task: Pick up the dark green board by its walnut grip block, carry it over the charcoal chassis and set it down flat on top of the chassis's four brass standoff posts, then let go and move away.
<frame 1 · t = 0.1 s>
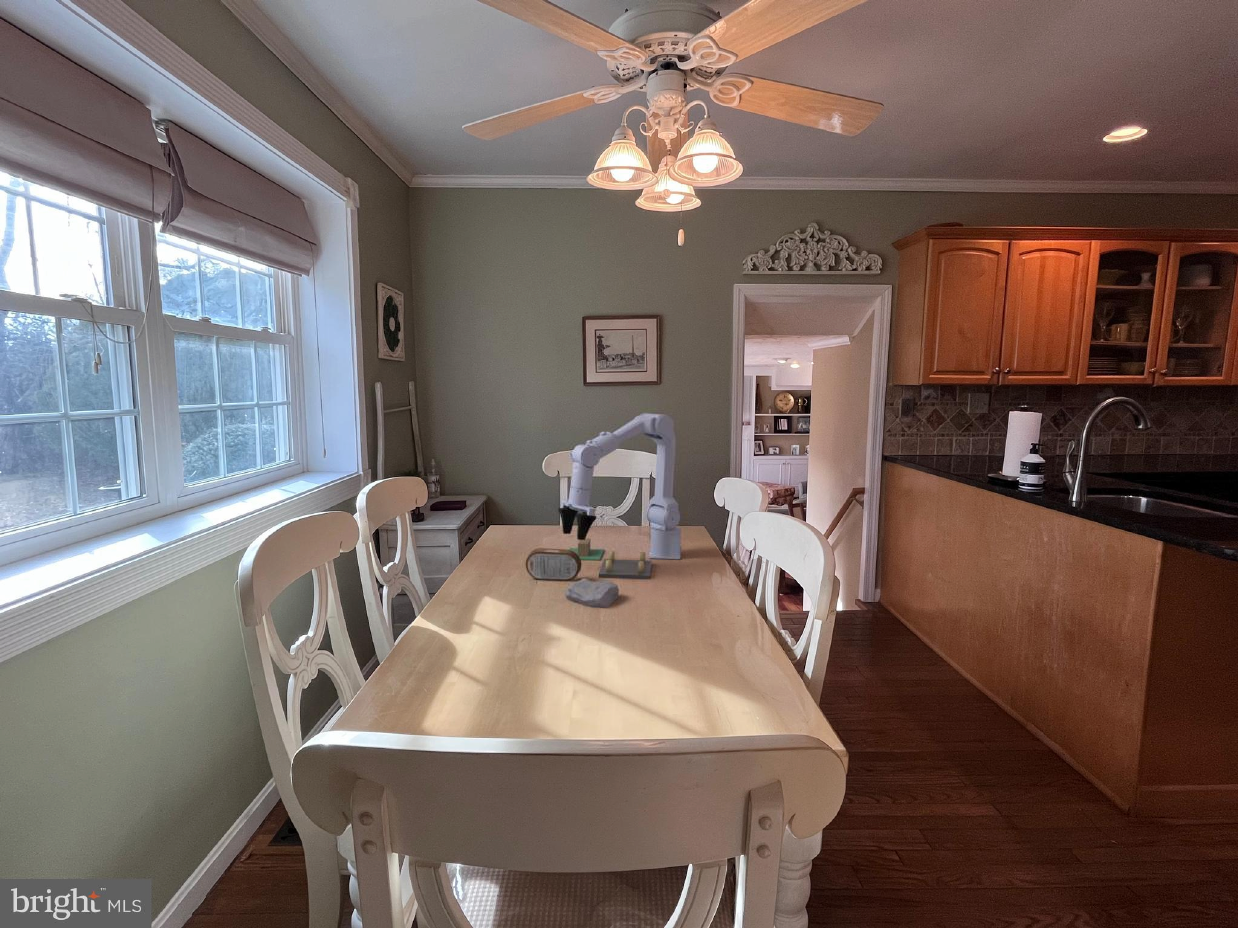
hand: (573, 536, 169), 11 cm above the table, tool pointing down, fingers open, 7 cm apart
tin: (553, 580, 166), on the table
stone block: (590, 601, 151), on the table
board: (584, 556, 189), on the table
chassis: (626, 570, 174), on the table
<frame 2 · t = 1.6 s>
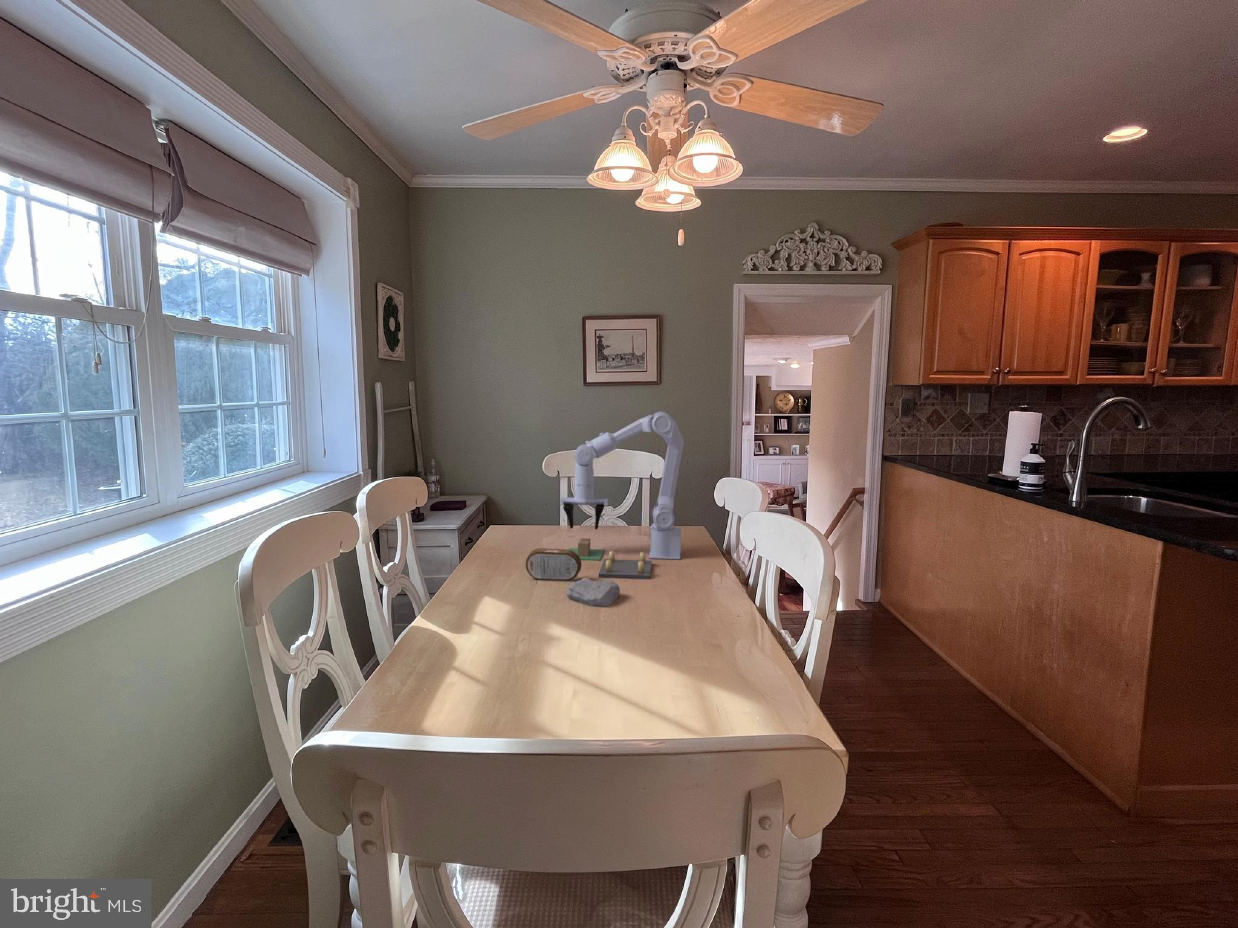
hand: (584, 528, 188), 8 cm above the table, tool pointing down, fingers open, 7 cm apart
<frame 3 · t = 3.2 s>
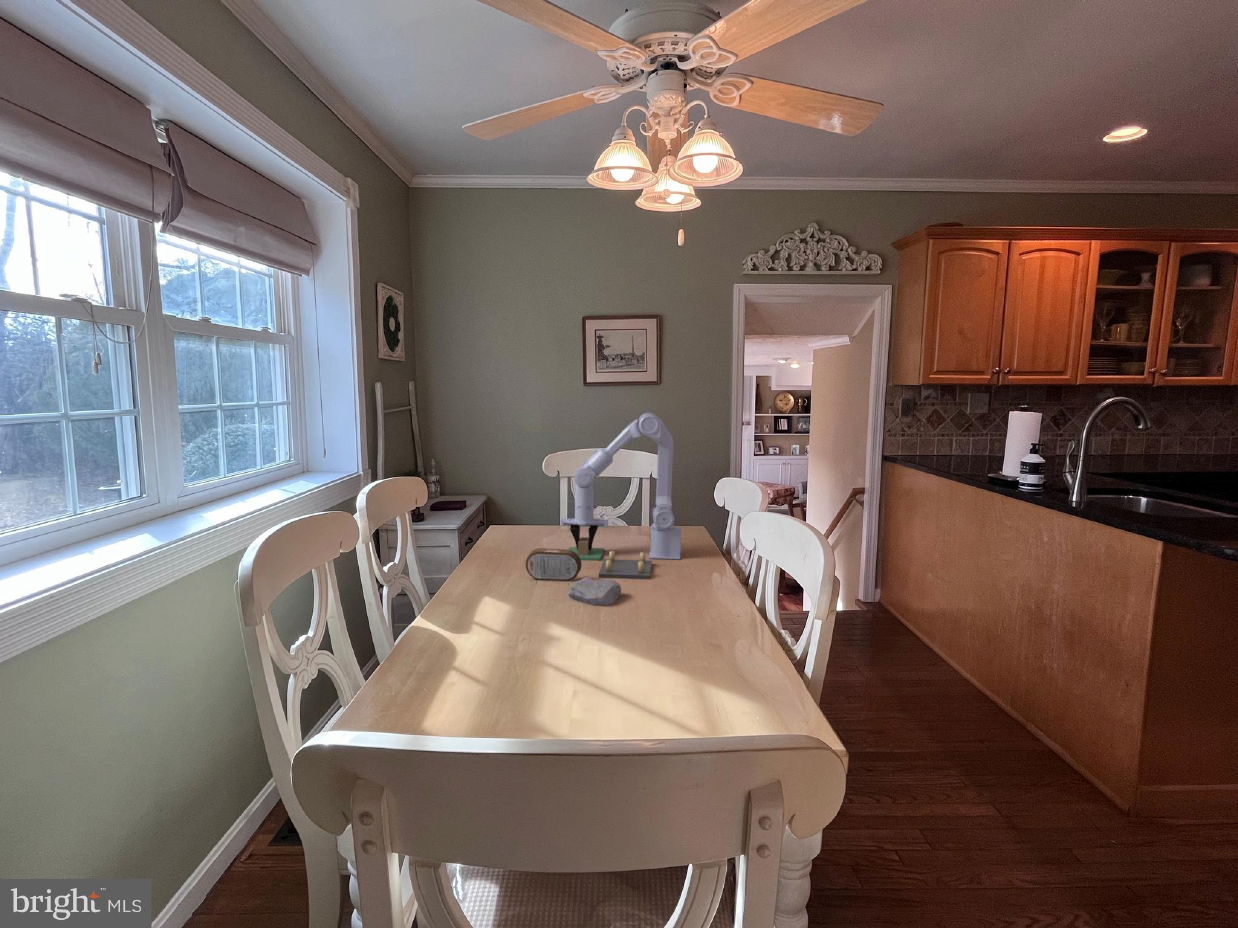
hand: (584, 549, 189), 2 cm above the table, tool pointing down, fingers closed on board, 3 cm apart
board: (584, 555, 189), on the table, touching gripper
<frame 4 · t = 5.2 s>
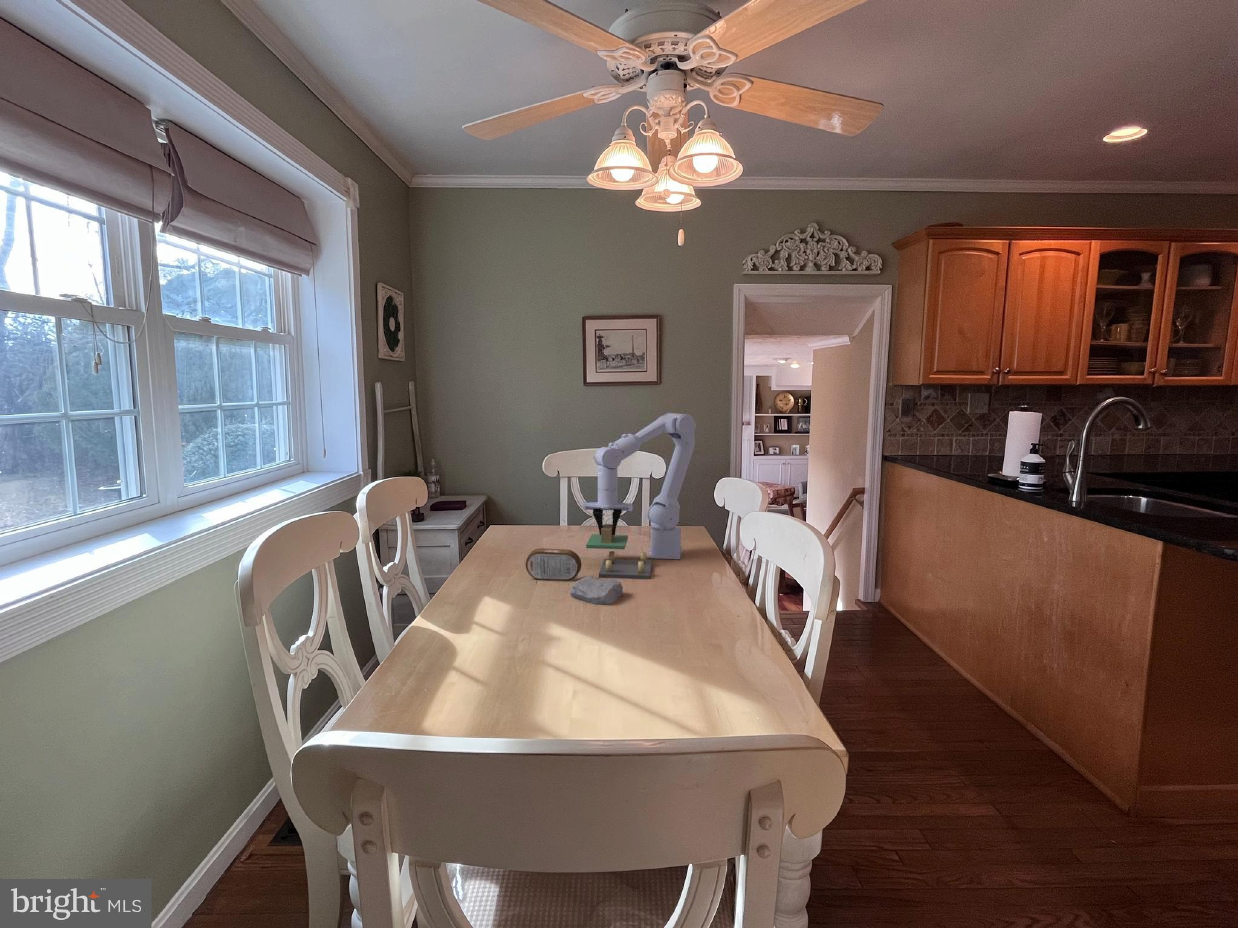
hand: (607, 534, 179), 9 cm above the table, tool pointing down, fingers closed on board, 3 cm apart
board: (607, 543, 180), point 6 cm above the table, touching gripper
when the fingers open (7 cm above the table, at t = 6.9 s): board stays where it is, resting on chassis.
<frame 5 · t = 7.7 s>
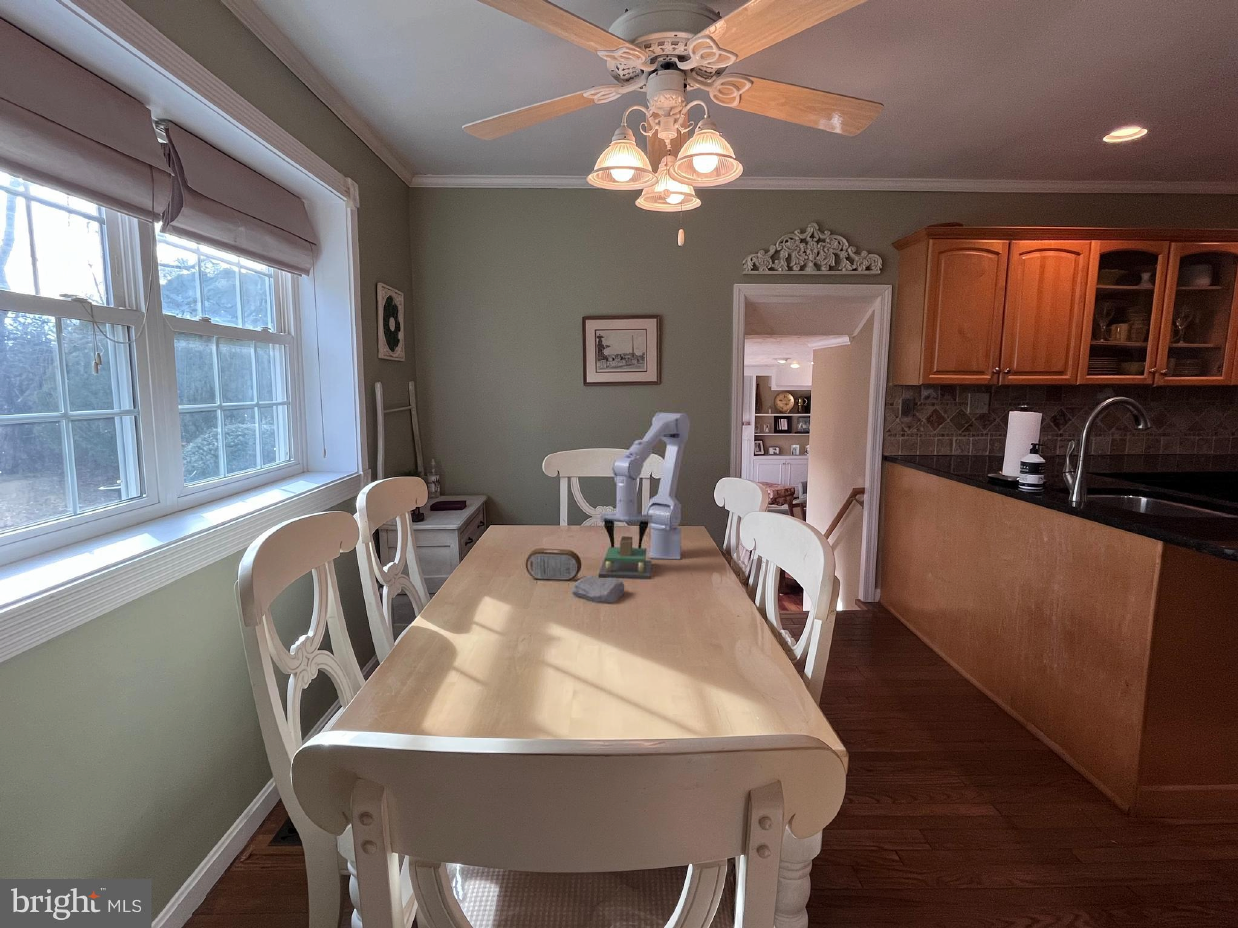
hand: (626, 547, 173), 7 cm above the table, tool pointing down, fingers open, 7 cm apart
board: (626, 556, 174), point 4 cm above the table, touching chassis
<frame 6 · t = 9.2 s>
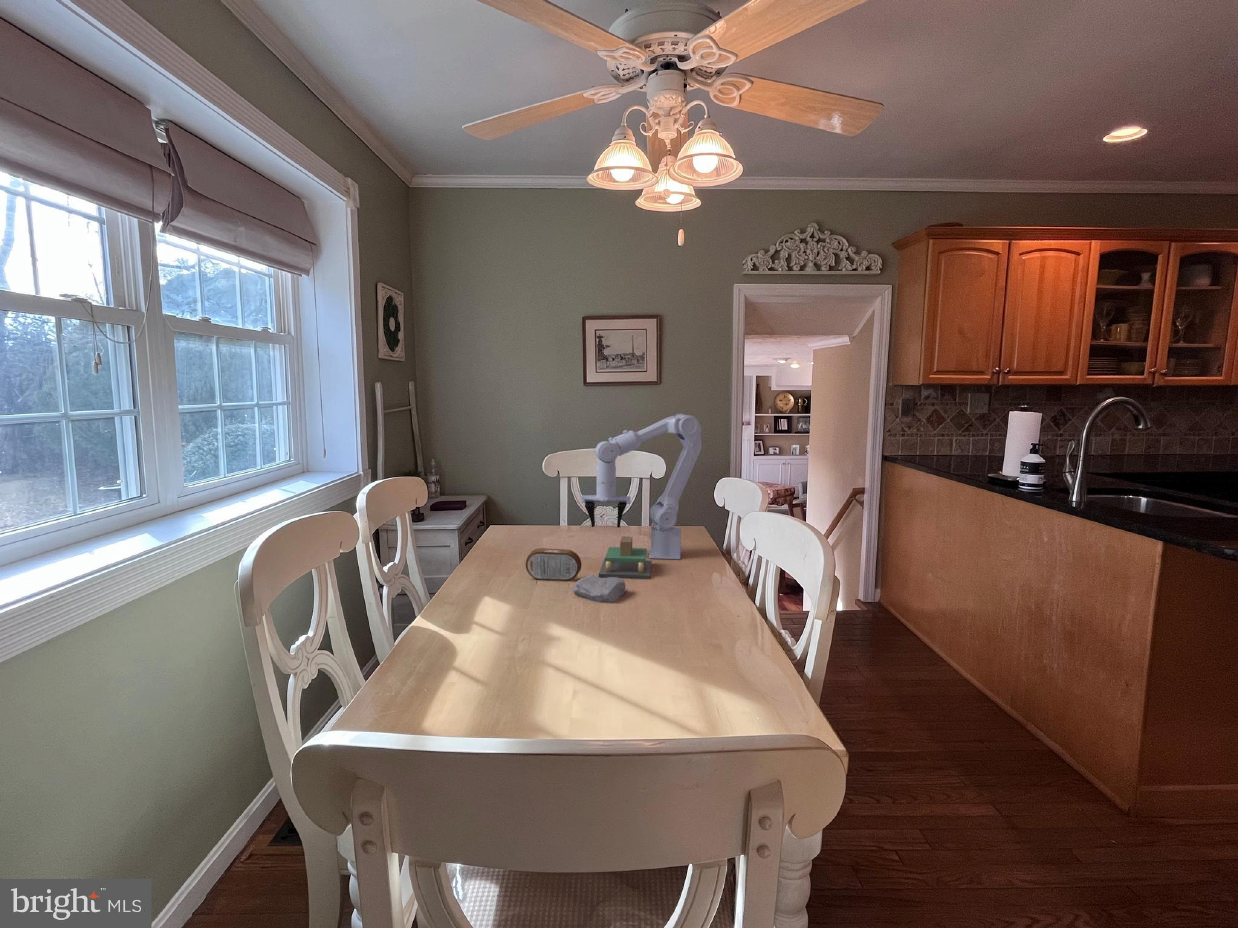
hand: (605, 526, 184), 10 cm above the table, tool pointing down, fingers open, 7 cm apart
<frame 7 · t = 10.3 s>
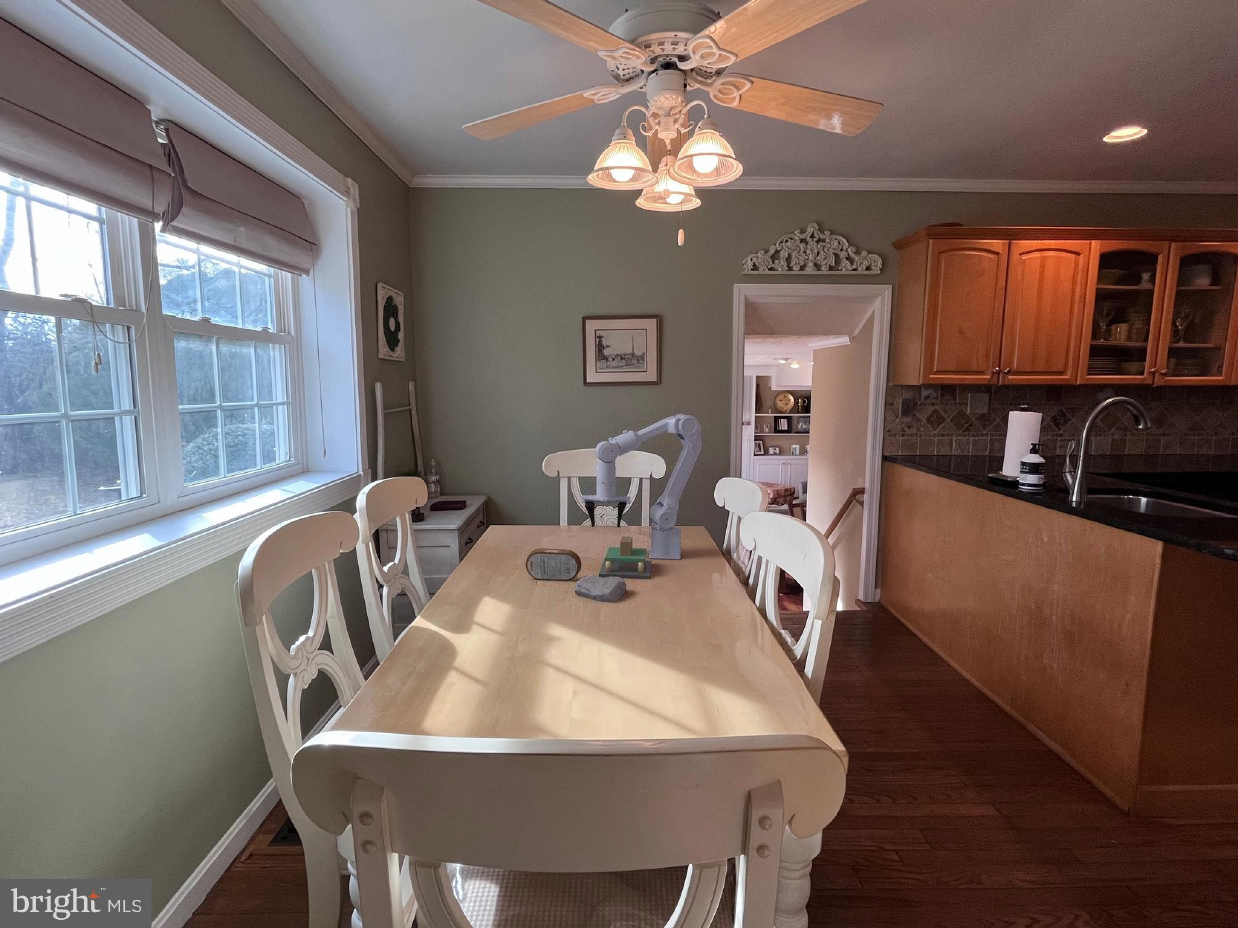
hand: (605, 526, 184), 10 cm above the table, tool pointing down, fingers open, 7 cm apart
at the end: board 0.5 cm off-centre on the chassis, point 4.0 cm above the chassis's base; board tilted 0°; the gripper is holding nothing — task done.
